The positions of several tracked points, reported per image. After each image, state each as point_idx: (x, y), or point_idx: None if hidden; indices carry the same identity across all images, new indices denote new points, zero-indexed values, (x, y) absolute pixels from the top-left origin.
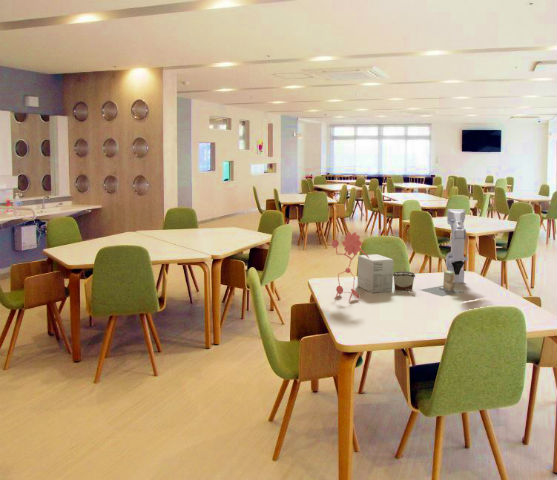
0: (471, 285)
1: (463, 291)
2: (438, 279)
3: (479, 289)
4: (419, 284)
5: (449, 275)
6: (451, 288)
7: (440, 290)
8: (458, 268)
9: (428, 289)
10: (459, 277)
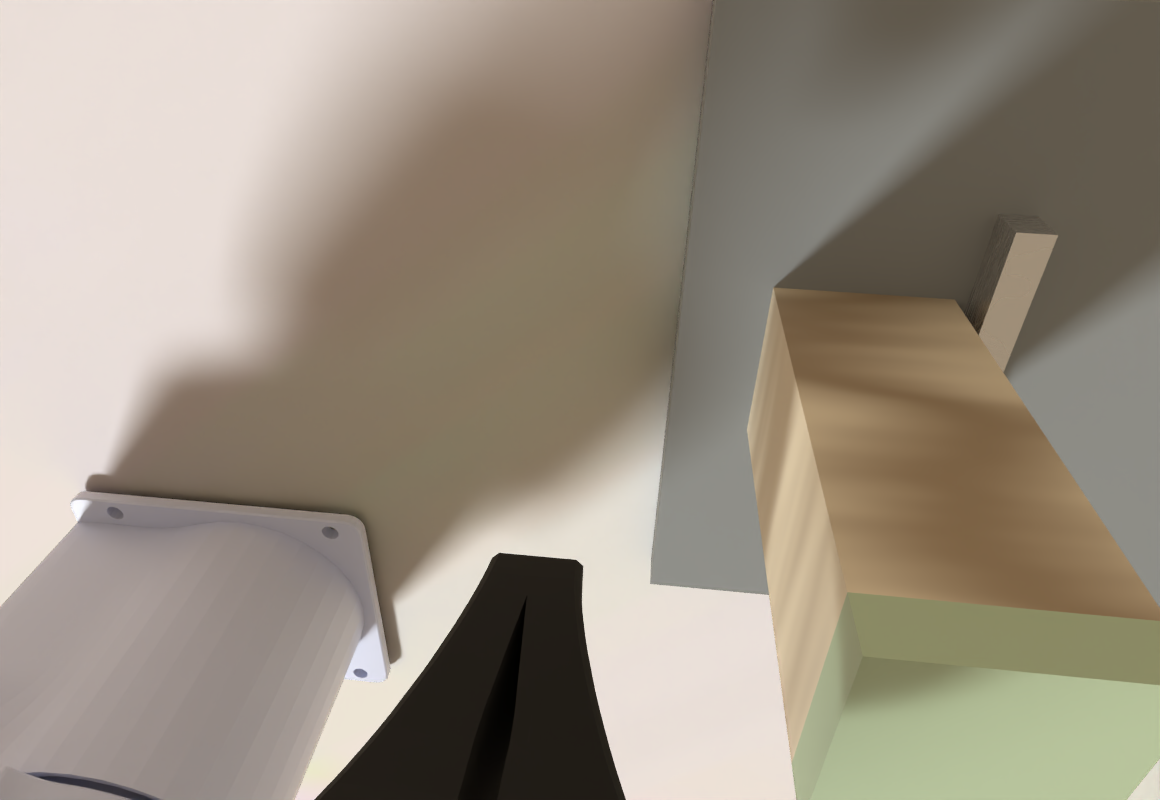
0: (27, 362)
1: (716, 35)
2: (317, 770)
3: (38, 47)
4: (779, 782)
5: (1150, 606)
6: (868, 315)
7: (1058, 418)
8: (588, 778)
9: (1144, 576)
10: (152, 613)
